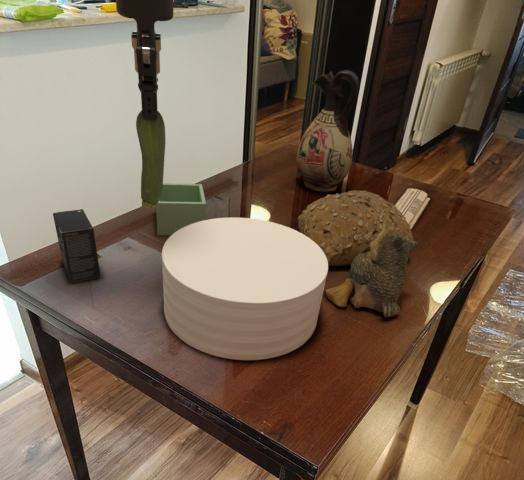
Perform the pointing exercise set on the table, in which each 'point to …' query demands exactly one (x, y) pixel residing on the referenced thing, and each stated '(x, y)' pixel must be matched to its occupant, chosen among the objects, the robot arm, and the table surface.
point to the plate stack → (242, 287)
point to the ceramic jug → (328, 136)
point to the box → (77, 245)
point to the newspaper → (412, 204)
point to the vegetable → (151, 158)
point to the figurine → (377, 275)
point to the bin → (179, 207)
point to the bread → (350, 223)
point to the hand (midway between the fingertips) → (150, 114)
